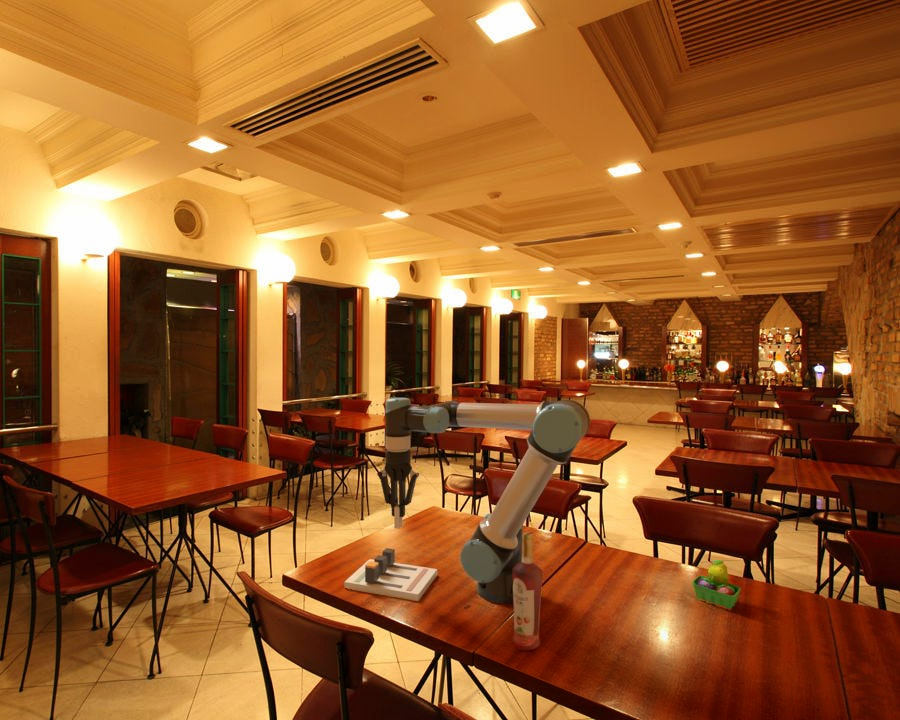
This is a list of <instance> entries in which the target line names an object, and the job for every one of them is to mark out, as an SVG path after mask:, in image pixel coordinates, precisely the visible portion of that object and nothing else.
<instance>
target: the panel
mask: <svg viewBox="0 0 900 720" xmlns="http://www.w3.org/2000/svg"><path fill="white" fill-rule="evenodd" d="M369 561H372V562H374V559H372V558H369V559H368V560H367V561H366V562H364V564H363V565H362V566H360V567H359V568H358V569H356V571H355V572H354V573H352V574H351V575H350V576H349V577H348V578H347V579H346V580H345V581H344V589H345V588H347V590H351V589H352V591H358V592H363V593H369V594H370V593H371V594H374V595H381V596H386V597H393V598H399V599H403V600H410V601H415V602H419V601H420V600H421V598H422V597H423V595H424V594H425V593H426V591H427V590H428V589H429V587H430V586H431V584H432V583H433V582H434V580H435V579H436V578H437V576H438V569H437V568H432V567H431V568H430V567H426V566H425V567H424V566H418V565H411V564H405V563H398V562H395V563H394V564H393V565H392V566H391V567H390V566H387V571H386V572H385V573H384V574H383V575H382V574H379V579H378V580H377V581H376V582H375V583H368V582H365V565H366V564H367V563H368V562H369Z"/></svg>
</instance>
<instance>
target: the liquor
mask: <svg viewBox="0 0 900 720" xmlns="http://www.w3.org/2000/svg"><path fill="white" fill-rule="evenodd" d="M533 545H534V533H533V532H530V531H522V562H521V563H519V564H517V565H516V566H514V567H513V569H512V572H513V600H514V603H513V622H514V623H513V624H514V625H513V629H514V630H513V631H514V632H513V633H514V635H513V636H512V638H511V639H512V643H513V644H514V645H515V646H516V647H517V648H518V649H519V648H520V649H519V650H521V649H522V650H521V651H523V650H525V651H524V652H531V651H530V650H532V651H534V650H535V649H537V648H538V647H539V646H540V645H541V639H540V638H539V637H540V613H541V599H542V589H543V588H542V585H543V570H542V568H540V567H539V566H538V565H537V564H535V563H534V554H533V552H534V551H533Z"/></svg>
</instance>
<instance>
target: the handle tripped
mask: <svg viewBox="0 0 900 720" xmlns="http://www.w3.org/2000/svg"><path fill="white" fill-rule="evenodd" d="M378 579H379V563H378V562H372V561H369V562H368V563H367V564H366V565H365V582H368V583H375V582H376V581H377V580H378Z"/></svg>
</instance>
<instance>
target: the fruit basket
mask: <svg viewBox="0 0 900 720" xmlns="http://www.w3.org/2000/svg"><path fill="white" fill-rule="evenodd" d="M707 573H708V574H707V575H708V576H705V575H699V576H697V577H696V578H695V579H694V580H693V581H691V583H692V587H693V589H694V594H695V596H696V599H697V598H699V599H703V600H705V601H708V602H712V603H715V604H718V605H721V606H724V607H726V608H730V609H731V608H732V607H733V606H734V607H735V605H736V604H737V600H738V598H739V595H740V593H741V590H742V588H741V587H740V586H737V585H735V584H732V583H730V582H728V581H729V572H728V566H727V565H726V564H725V563H724V561H723V560H719V559H716V560H715V561H714V562H713V563H712V564H711V566H710V567H709V568H708V570H707ZM735 603H736V604H735ZM734 604H735V605H734ZM734 607H733V608H734ZM733 608H732V609H733ZM732 609H731V610H732Z"/></svg>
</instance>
